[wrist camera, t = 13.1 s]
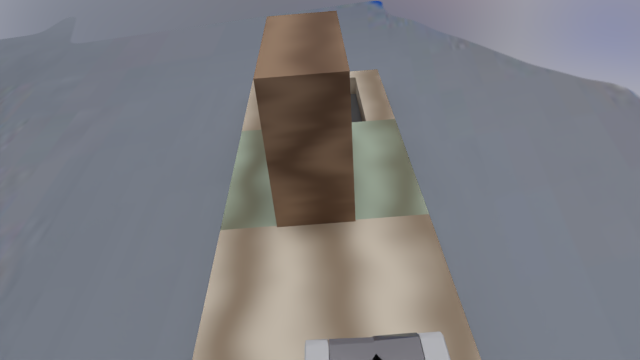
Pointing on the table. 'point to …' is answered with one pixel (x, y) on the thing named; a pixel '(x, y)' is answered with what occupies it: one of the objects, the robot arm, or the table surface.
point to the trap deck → (330, 254)
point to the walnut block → (306, 118)
